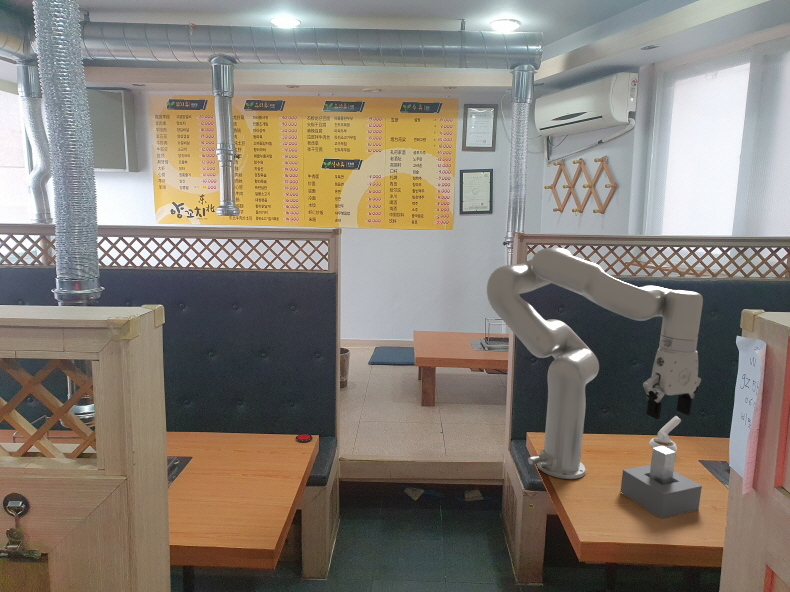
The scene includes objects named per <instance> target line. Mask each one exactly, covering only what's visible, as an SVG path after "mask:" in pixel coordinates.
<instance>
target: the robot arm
mask: <svg viewBox="0 0 790 592" xmlns="http://www.w3.org/2000/svg"><path fill="white" fill-rule="evenodd" d="M550 284H553V285H556V286H558V287H561V288H563V289H565V290H568V291H571V292H573V293H576V294H578V295H581V296H582V297H584V298H586V299H587V300H589V301H590V302H592V303H594V304H596V305H597V306H599V307H601V308H603V309H606V310H608V311H610V312H612V313H615V314H617V315H620V316H623V317H624V318H626V319H627V318H628V319H630V320H634V321H639V322H641V321H642V322H643V321H647V320H650V319H652V318H656V317H657V318H658V317H662V323H661V329H660V330H661V331H660V339H659V346H658V348H657V351H656V354H655V357H654V362H653V365H652V371H651V377H649V378H648V379H647V380H645V381H644V382H643V383H642V387H643V389H644V390H643V391H644V394H645V396H646V399H647V400H648V401H647V407H646V415H647V416H649V417H651V418H653V419H655V420H659V419H660V418H661V412H662V404H663V403H662V402H661V400H662V399H663V397H665V395H667V396H677V395H678V397H677V398H678V399H677V403H676V404H677V405H676V411H677V412H679V413H681V414H684V415H687V416H689V415H691V412H692V411H691V408H692V403H693V399H695V394H696V392H697V391H698V389H699V388H698V387H699V386H700V384H701V382H702V378H701V377H699V376H698V375H699V354H698V350H697V346H698V341H699V340H698V339H699V331H700V326H701V325H700V323H701V318H702V317H701V316H702V311H703V310H702V309H703V303H704V298H703V296H702V294H701V293H698V292H696V291H690V290H684V289H683V290H681V289H677V290H676V289H669V288H664V287H661V286H658V285H657V286H656V285H644V286H640V287H638V286H636V285H634V284H631V283H628V282H624V281H622V280H620V279H617V278H615V277H613V276H612V275H610V274H608V273H606V272H605V271H604V269H603V268H602V267H601V266H600V265H598V264H597V263H594V262H592V261H589V260H585V259H582V258H580V257H578V256H575V255H573V254H572V253H571V252H570V251H569V250H568V249H566V248H563V247H546V248H545V247H544V248H542V249H540V250H538V251H536V252H535V254H534V255H533V257H532V259H529V260H526V261H525V262H523V263H517V264H507V265H506V264H505V265H503V266H499V267H498V268H496V269H495V270H493V271H492V273H491V274H490V276H489V278H488V280H487V285H486V294H487V299H488V302H489V305H490V306H491V308H492V309H493V311H494V312H495V314H497V316H498V318H499V317H500V319H501V320H502V321H503V322H504V323H505V324H506V325H507V326H508V328H509V329H510V330H511V331H512V332H513V334H514V335H515V336H516V337H517V338H518V340H519V341H520V342H521V343H522V344H523V345H524V346H525V347H526V349H527V351H529V353H530V354H531V355H533V356H535V357H536V358H539V359H541V358H542V359H544V358H546V359H547V358H549V357H551V356H552V357H553V361H552V362H551V363H550V365H549V367H548V368H547V369H548V371H547V405H546V406H547V407H546V408H547V409H546V419H545V420H546V421H545V429H544V430H545V432H544V440H543V441H544V442H543V449H541V450H540V451H539V454H538V455H533V456H529V457H528V458H527V462H528V463H529V465H535V464H536V466H537V468H538V469H539V470H540V471H541V472H542V473H544V474H546V475H549V476H551V477H554V478H558V479H564V480H565V479H566V480H574V479H579V478H580V479H581V478H582V477H583V476H585V475H586V466H585V465H584V464H583V462H581V457H582V455H581V454H582V446H583V436H584V426H585V425H584V424H585V418H586V417H585V416H586V405H587V403H586V386H587V384H588V383H590V382H592V381H593V380H594V379H595V378H596V377H597V375H598V373H599V371H600V363H599V362H600V361H599V360H598V357H597V356H596V354H595V353H594V352H593V350H591V348H589V346H588V345H587V344H586V343H585V342H584V341H583V340H582V339H581V338H580V336H578V334H577V333H576V332H574V330H573V329H572V328H571V327H570V326H569V325H568V324H566V323H565V322H564V321H562V320H559V319H553V318H552V319H547V320H546V319H545V318H543V316H542V315H540V313H539V312H538V311H537V310H536V309H535V307H534V306H532V305H531V304H530V303H529V302H528V301H526V300H525V299H523V298H522V297H521V295H520V294H526V293H530V292H533V291H535V290H537V289H540V288H543V287H544V286H547V285H550ZM656 393H657V394H656Z"/></svg>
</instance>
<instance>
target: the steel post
mask: <svg viewBox="0 0 790 592" xmlns="http://www.w3.org/2000/svg"><path fill="white" fill-rule="evenodd" d="M676 454H677V451H676V452H675V451H673V450H670V449H668V448H666V447H664V446H661V447H656V448H652V452H651V460H650V461H651V462H650V465H651V468H650V476H649V477H650V478H651V479H653V480H655V481H657V482H658V483H660V484H662V485H665V484H670V483H672V479H673V471H675V470H674V469H675V463H676V462H675V460H676Z"/></svg>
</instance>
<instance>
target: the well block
mask: <svg viewBox="0 0 790 592" xmlns="http://www.w3.org/2000/svg"><path fill="white" fill-rule="evenodd" d="M650 468H651V464H647V465H641V466H636V467H631V468H626V469H625V468H624V469H622V475H621V482H620V483H621V485H620V491H619V492H622V493H623V494H624V495H623V494H622V493H621V494H622V495H623V496H625V495H626V496H627V498H628V497H629V498H628V499H630V500H631V499H632V500H631V501H633V502H634V501H635V502H634V503H635V504H637V503H638V505H639V506H640V505H641V506H640V507H642V508H644V509H645V510H647V511H648V512H650V513H651V514H653V515H654V516H655V517H658V518H659V519H660V520H662V519H666V518H670V517H674V516H679V515H682V514H687V513H690V512H691V513H692V512H694V511H696V512H697V511H699V509H700V503H701V494H702V487H703V486H702V485H701V484H699V483H697V482H695V481H694V480H691V479H690V478H688V477H687V476H684V475H682V474H681V473H679V472H677V471H675V470H674V471H673V479H672V483H670V484H665V485H662V484H660V483H658V482H657V481H655V480H653V479H651V478H650V477H649V476H650ZM626 496H625V497H626Z"/></svg>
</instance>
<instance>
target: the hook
mask: <svg viewBox="0 0 790 592" xmlns="http://www.w3.org/2000/svg"><path fill="white" fill-rule="evenodd" d="M681 422H682V420H681V418H679V416H677V415H675V416H674V417H672V418H671V419H670V420H669V421H668V422H667V423H665V425H664V426H662V428H660V430H659V431H658V432H657V437H652V438H651V439H650V441H649V442H648V446H649V447H651V448H652V449H653V448H656V447H661V446H664V447H666V448H668V449H670V450H673V451H675V452H676V453H677V451H678V447H677V444H676V442H675V441H673V440H671V438H670V435H669V433H670V432H671V431H672V430H673V429H675V428H676V427H677V426H678V425H679V424H681ZM660 443H663V444H660ZM664 444H667V445H664Z"/></svg>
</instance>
